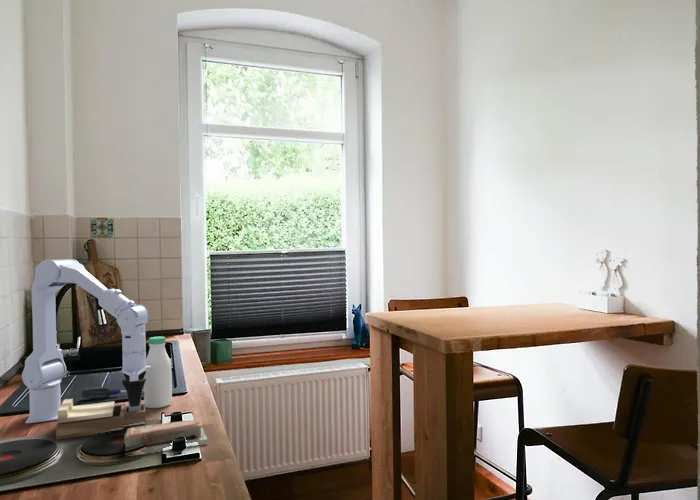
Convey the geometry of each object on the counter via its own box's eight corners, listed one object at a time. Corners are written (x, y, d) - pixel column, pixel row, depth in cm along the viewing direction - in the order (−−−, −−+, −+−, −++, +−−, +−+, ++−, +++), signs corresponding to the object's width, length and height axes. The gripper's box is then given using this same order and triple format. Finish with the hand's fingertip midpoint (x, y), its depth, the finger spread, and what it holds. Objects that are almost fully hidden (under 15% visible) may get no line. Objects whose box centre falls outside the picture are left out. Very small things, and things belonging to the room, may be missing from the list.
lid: (64, 410, 131) (64, 399, 131) (114, 404, 136) (114, 393, 136) (58, 423, 121) (57, 411, 121) (112, 416, 126) (112, 404, 126)
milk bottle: (177, 403, 148) (176, 336, 148) (154, 410, 142) (153, 340, 142) (161, 399, 152) (160, 334, 152) (138, 406, 146) (137, 338, 146)
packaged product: (123, 438, 109) (124, 424, 118) (123, 460, 109) (124, 444, 118) (207, 425, 116) (202, 412, 125) (208, 446, 116) (202, 432, 125)
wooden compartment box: (63, 424, 132) (63, 411, 132) (145, 413, 139) (145, 401, 139) (56, 439, 120) (56, 425, 121) (145, 427, 128) (145, 414, 128)
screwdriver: (171, 389, 164) (170, 377, 164) (171, 392, 161) (171, 380, 161) (82, 399, 154) (82, 387, 154) (80, 402, 151) (80, 390, 151)
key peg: (129, 420, 134) (128, 390, 134) (141, 419, 135) (140, 389, 135) (128, 424, 131) (128, 393, 131) (141, 422, 132) (140, 392, 132)
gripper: (150, 354, 128) (151, 407, 128) (150, 345, 141) (151, 393, 141) (120, 357, 125) (121, 411, 125) (122, 347, 138) (123, 396, 138)
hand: (135, 402), depth 133 cm, fingers open, 7 cm apart
